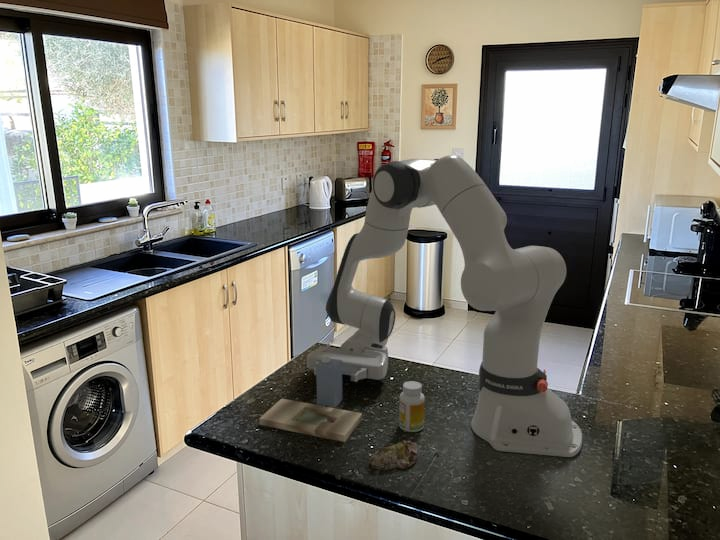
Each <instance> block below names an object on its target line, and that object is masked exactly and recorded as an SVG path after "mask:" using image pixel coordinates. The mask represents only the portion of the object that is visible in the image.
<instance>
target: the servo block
mask: <svg viewBox="0 0 720 540" xmlns="http://www.w3.org/2000/svg"><path fill="white" fill-rule="evenodd" d="M315 376H316V380H315V381H316V405H320V406H325V407H326V406H327V407H331V408H337V406H339V404H341V402H342V401H343V374H342V360H337V359H331V358H329V357H323V358H322V360H321V361H320V362H319V363H318V364H317V365H316V375H315Z"/></svg>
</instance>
